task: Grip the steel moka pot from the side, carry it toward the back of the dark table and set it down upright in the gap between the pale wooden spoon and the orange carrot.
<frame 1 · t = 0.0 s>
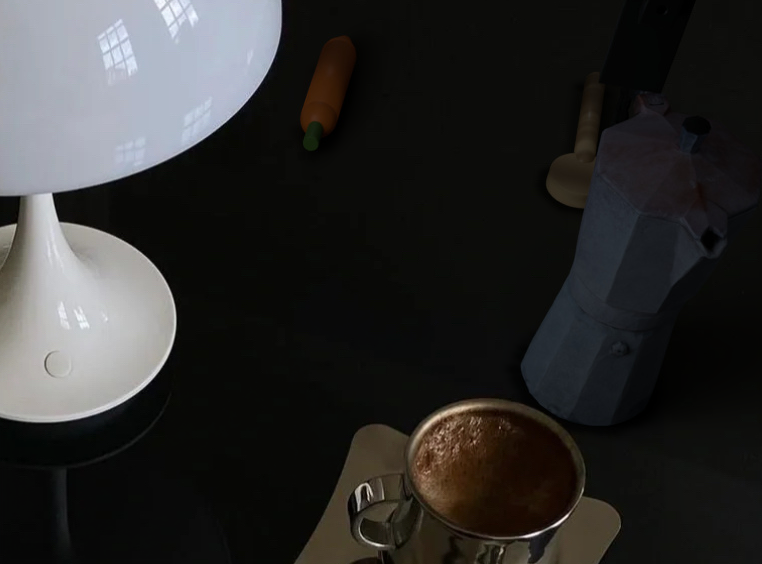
moka pot: (580, 377, 89), on the table
spoon: (583, 150, 101), on the table
carrot: (326, 103, 103), on the table
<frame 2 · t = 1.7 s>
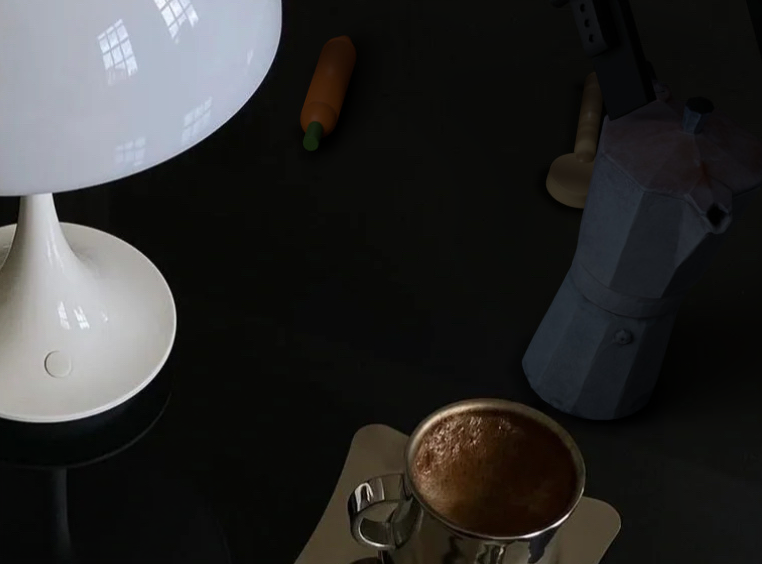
hand: (713, 84, 76), 18 cm above the table, tool tilted 50°, fingers open, 13 cm apart
moka pot: (581, 375, 89), on the table, touching gripper
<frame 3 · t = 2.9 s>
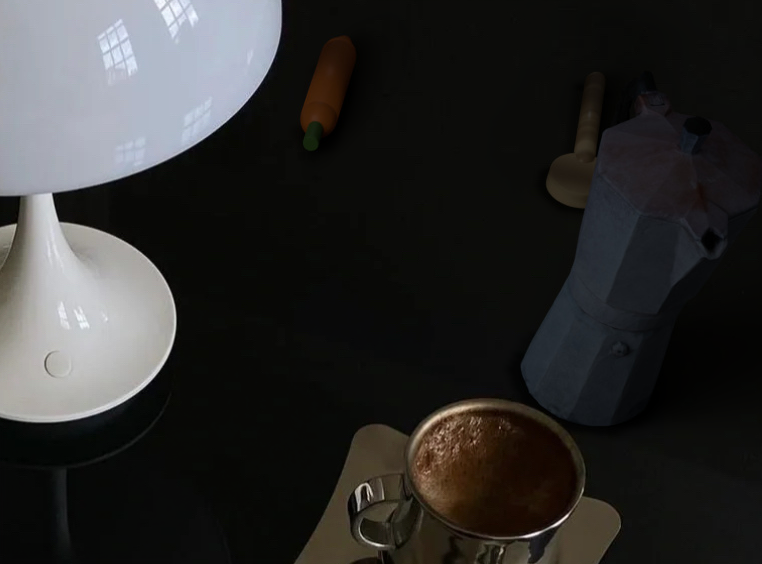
moka pot: (580, 377, 89), on the table
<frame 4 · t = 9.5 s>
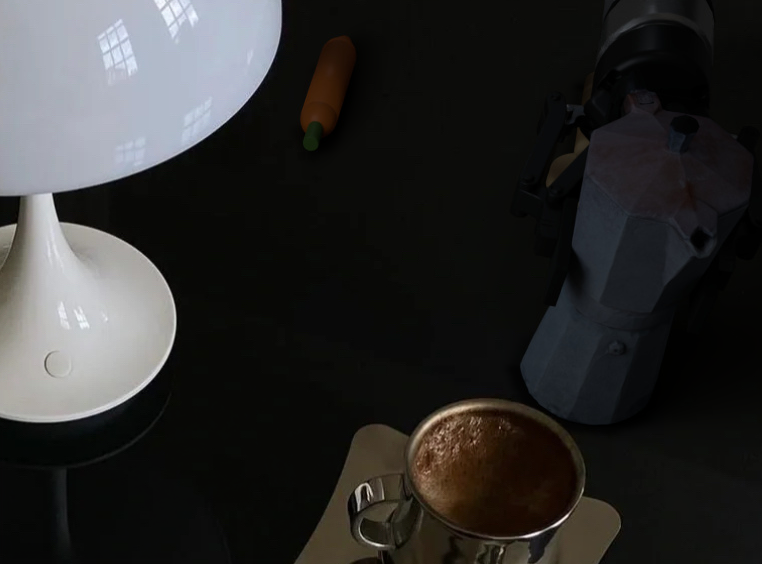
hand: (628, 301, 77), 11 cm above the table, tool horizontal, fingers closed on moka pot, 8 cm apart
moka pot: (580, 376, 89), on the table, touching gripper
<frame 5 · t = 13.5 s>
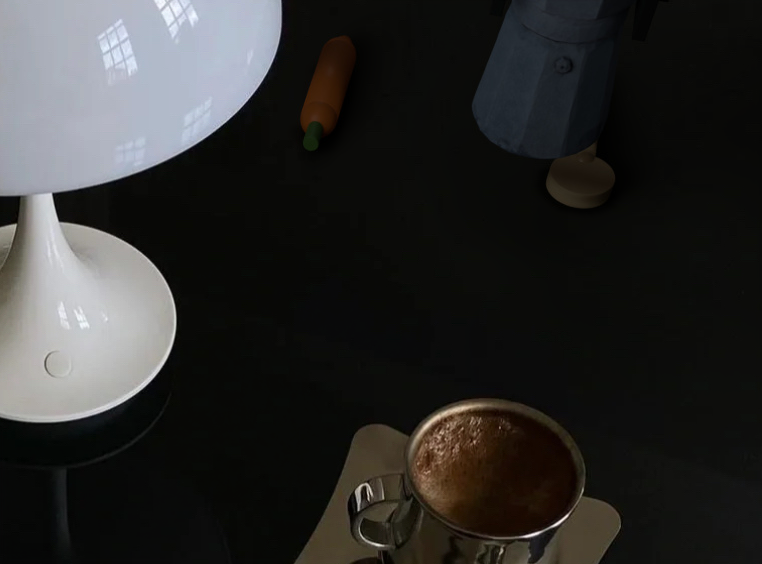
hand: (572, 5, 78), 19 cm above the table, tool horizontal, fingers closed on moka pot, 8 cm apart
moka pot: (532, 117, 89), point 9 cm above the table, touching gripper
when the fingers open (11 cm above the table, at t = 17.7 s): moka pot stays where it is, on the table.
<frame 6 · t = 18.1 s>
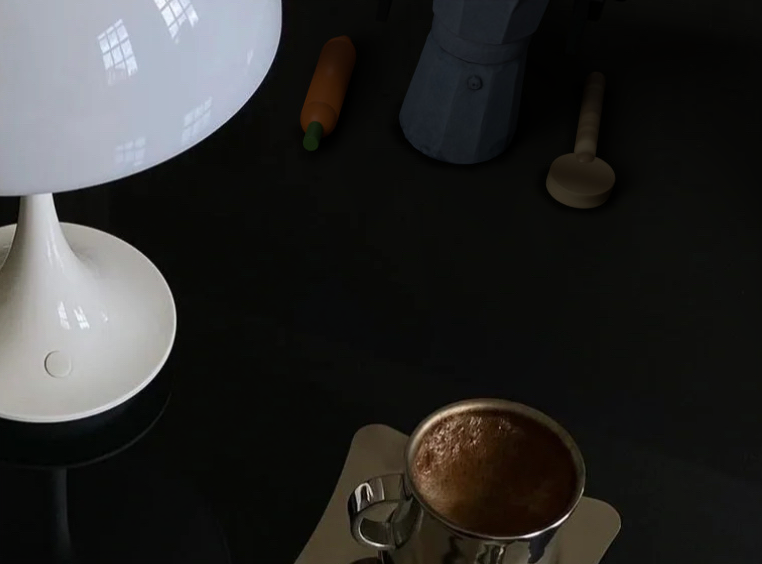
hand: (479, 19, 91), 11 cm above the table, tool horizontal, fingers open, 13 cm apart
moka pot: (451, 128, 102), on the table
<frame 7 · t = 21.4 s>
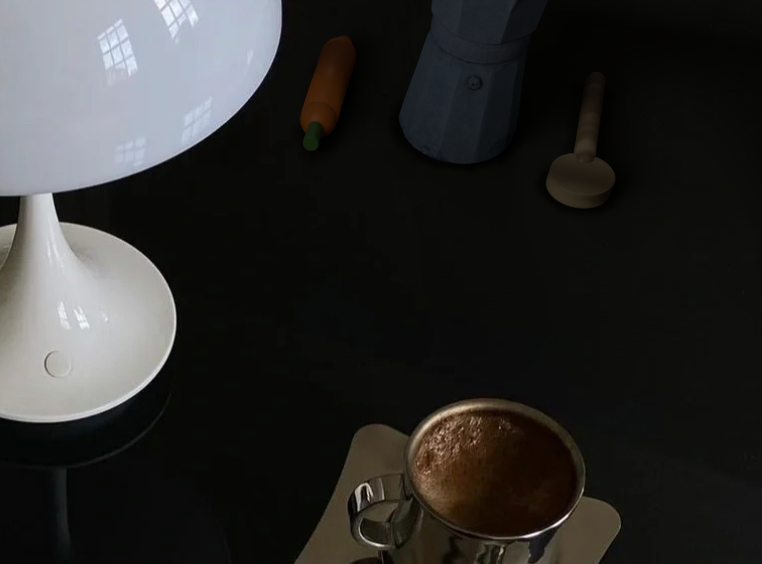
nothing on the table moved.
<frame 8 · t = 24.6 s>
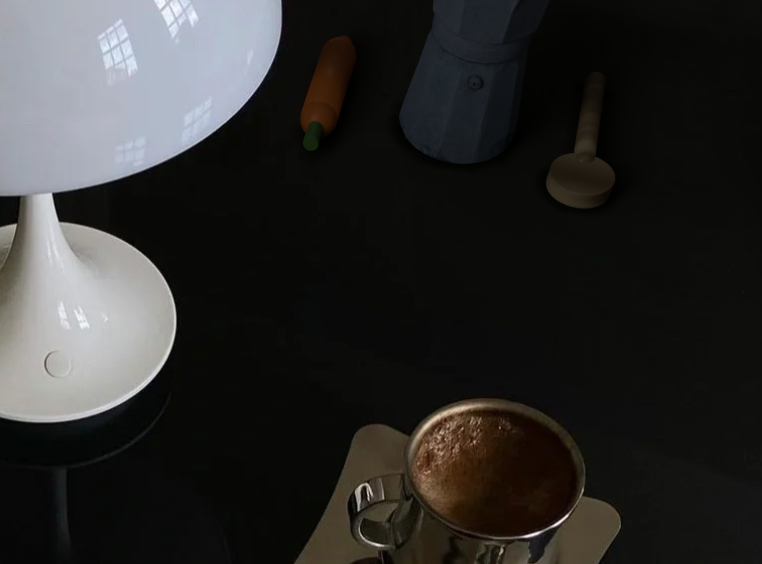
nothing on the table moved.
at the end: moka pot inside the target area on the table beside the spoon (0.1 cm from its centre), on the table; moka pot tilted 0°; the gripper is holding nothing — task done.
